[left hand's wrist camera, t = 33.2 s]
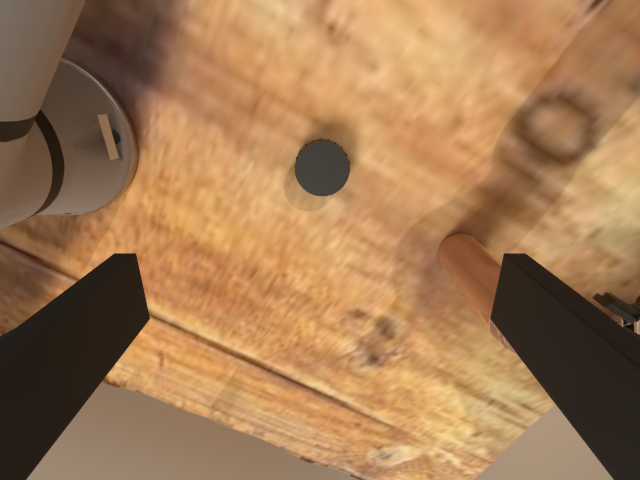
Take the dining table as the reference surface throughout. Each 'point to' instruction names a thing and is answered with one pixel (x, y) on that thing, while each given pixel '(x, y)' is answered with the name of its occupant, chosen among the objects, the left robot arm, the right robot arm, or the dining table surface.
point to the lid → (322, 167)
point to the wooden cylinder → (473, 275)
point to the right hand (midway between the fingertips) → (568, 329)
